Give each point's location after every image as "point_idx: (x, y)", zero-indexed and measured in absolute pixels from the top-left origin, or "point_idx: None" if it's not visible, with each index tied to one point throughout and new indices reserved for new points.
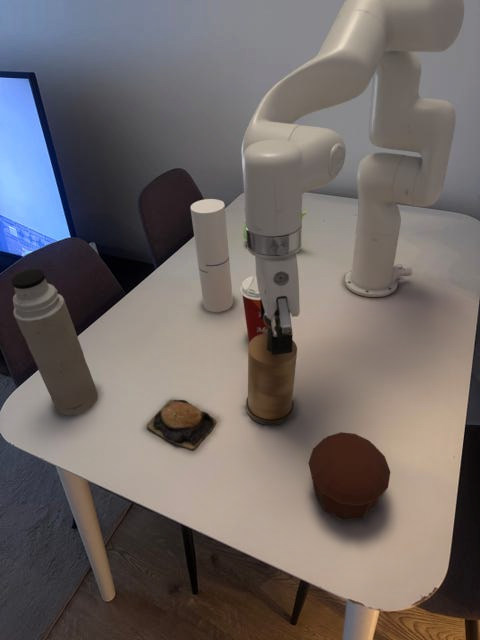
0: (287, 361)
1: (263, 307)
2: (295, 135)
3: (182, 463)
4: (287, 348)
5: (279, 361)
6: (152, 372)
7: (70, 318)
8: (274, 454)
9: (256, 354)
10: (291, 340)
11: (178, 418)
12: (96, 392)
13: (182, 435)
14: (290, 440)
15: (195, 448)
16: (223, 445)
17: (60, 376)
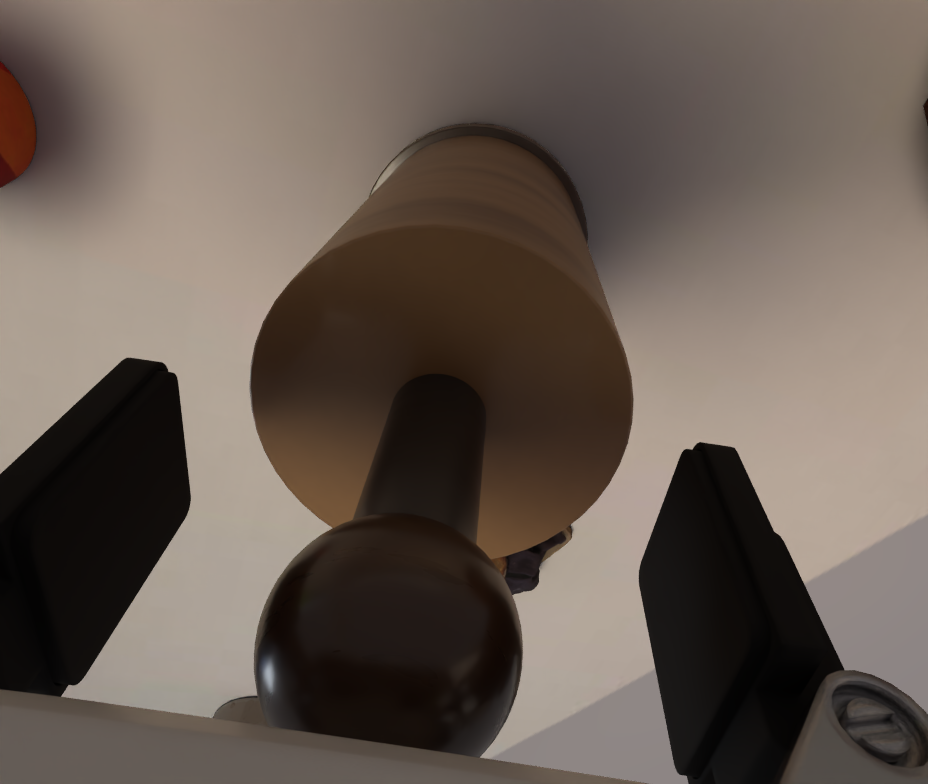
0: (629, 370)
1: (117, 613)
2: None
3: (605, 563)
4: (787, 558)
5: (606, 423)
6: (181, 570)
7: None
8: (718, 301)
9: (478, 532)
10: (778, 555)
11: None
12: (261, 711)
13: (532, 577)
14: (686, 215)
15: (568, 526)
16: None
17: None
